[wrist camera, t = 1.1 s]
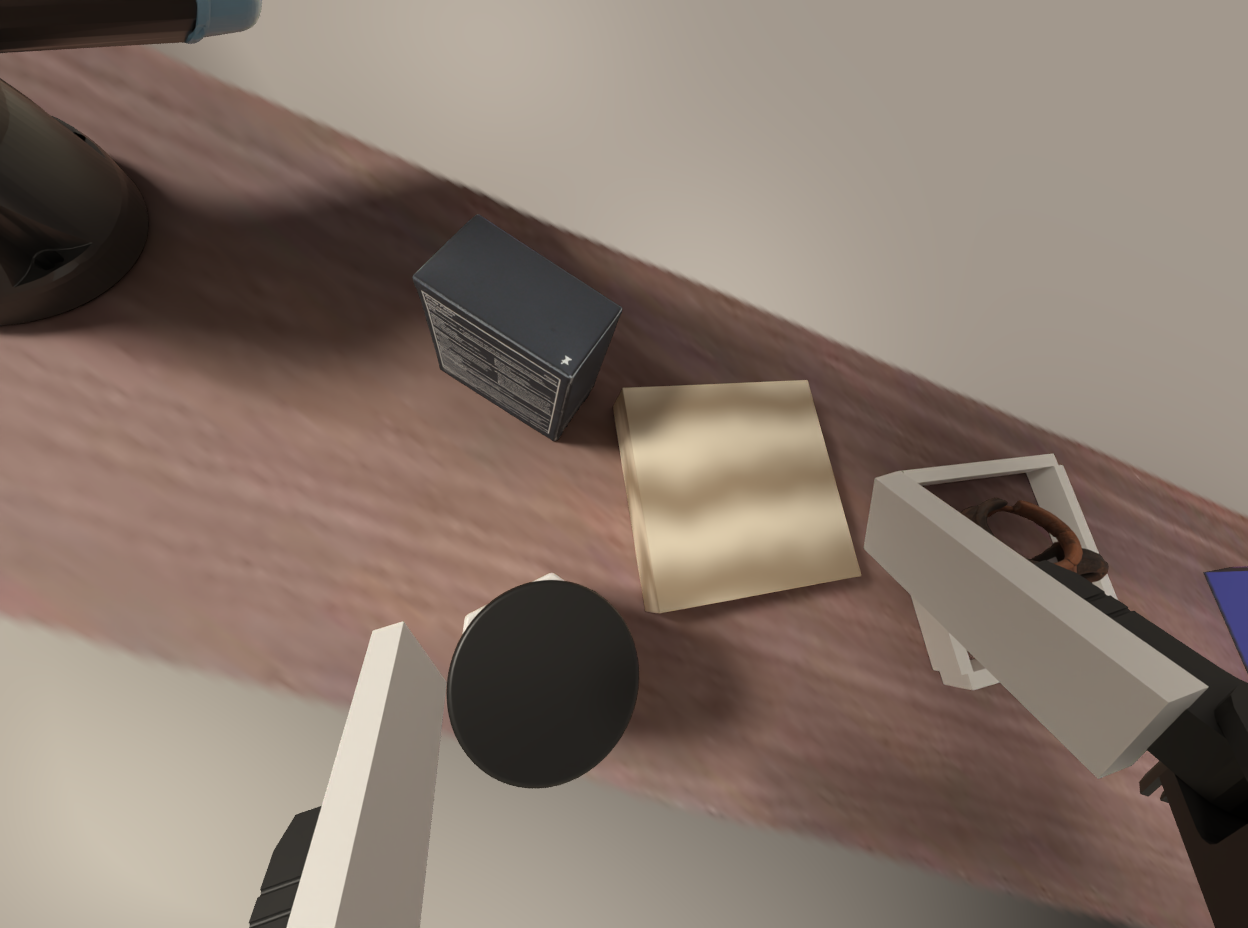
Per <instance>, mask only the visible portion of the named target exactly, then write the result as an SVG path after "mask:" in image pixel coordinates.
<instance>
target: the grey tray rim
mask: <svg viewBox="0 0 1248 928" xmlns="http://www.w3.org/2000/svg"><path fill="white" fill-rule="evenodd" d="M901 472H902V473H904V474H905V475H907V476H908V477H909V478H911V479H912V480H914V481H915V482H917V483H918V484H919V485H921V486H925V485H933V484H941V483H949V482H956V481H964V480H972V479H980V478H988V477H996V476H1004V475H1012V474H1020V473H1026V474H1027V477H1028V479H1029V482H1030V485H1031V487H1032V490H1033V492H1034V495H1035V497H1036V500H1037V503H1038V505H1039V507H1041V508H1043V509H1045V510H1047V511H1049V512H1051V513H1052V514H1054V515H1055V516H1057V517H1058V518H1059V519H1060V520H1062V521H1063V522H1064V523H1065V524H1066V525H1068V526H1069V527H1070V529H1071V530H1072V531H1073V532H1074V533H1075V534H1076V536H1077V538H1078V539H1079V541H1080V544H1081V547H1082V548H1085V549H1089V550H1091V551H1094V552H1096V553H1098V554H1099V552H1098V550H1097V547H1096V545H1095V543H1094V540H1093V538H1092V535H1091V533H1090V530H1089V528H1088V525H1087V523H1086V520H1085V518H1084V516H1083V513H1082V511H1081V508H1080V506H1079V503H1078V501H1077V498H1076V496H1075V493H1074V491H1073V489H1072V486H1071V484H1070V481H1069V479H1068V476H1067V474H1066V471H1065V469H1064V467H1063V465H1058V463H1057V461H1056V458H1055V456H1054V454H1045V455H1036V456H1027V457H1018V458H1009V459H1001V460H992V461H983V462H974V463H965V464H956V465H948V466H939V467H930V468H921V469H912V470H903V471H901ZM1049 534H1050V533H1049ZM1050 536H1051V539H1052V542H1053V543H1054V542H1058V540H1057V539H1056V537H1053V536H1052V535H1051V534H1050ZM1092 583H1093V584H1094V585H1096V586H1097V587H1099V588H1100V589H1102V590H1103V591H1105V594H1106V595H1108V596H1110V595H1111V596H1112V597H1114V598H1115V599H1117V596H1116V594H1115V592H1114V589H1113V587H1112V584H1111V582H1110V579H1109V577H1108V574H1106V575H1105V576H1104V577H1103V578H1102V579H1101V580H1099V581H1097V582H1092ZM911 598H912V602H913V605H914V608H915V612H916V615H917V618H918V622H919V625H920V628H921V632H922V635H923V638H924V642H925V645H926V648H927V652H928V655H929V658H930V662H931V665H932V668H933V670H935V671H940V674H941V678H942V681H943V684H944V685H949V686H954V687H959V688H964V689H969V690H976V689H980V688H983V687H986V686H990V685H993V684H997V683H1000V682H999V681H998V680H997V679H996V678H995V677H994V676H993V675H992V674H991V673H990V672H989V671H988V670H987V669H986V668H985V667H984V666H983V665H982V664H981V663H980V662H979V661H978V660H976V659H973V660H970V659H969V656H968V653H967V650H966V649H965V648H964V647H963V646H962V645H961V644H960V643H959V642H958V641H957V640H956V639H955V638H954V637H953V636H952V635H951V634H950V633H949V632H948V631H947V630H946V629H945V628H944V627H943V626H942V625H941V624H940V623H939V622H938V621H937V620H936V619H935V618H934V617H933V616H932V615H931V614H930V613H929V612H928V611H927V610H926V609H925V608H924V607H923V606H922V605H921V604H920V603H918V602H917V601H916V600H915V599H914V598H913V597H912V596H911ZM1117 600H1118V599H1117Z"/></svg>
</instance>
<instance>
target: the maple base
mask: <svg viewBox="0 0 1248 928" xmlns="http://www.w3.org/2000/svg"><path fill="white" fill-rule="evenodd" d="M613 412H614V418H615V424H616V431H617V437H618V443H619V450H620V456H621V462H622V469H623V475H624V481H625V487H626V494H627V500H628V506H629V513H630V519H631V525H632V532H633V538H634V544H635V550H636V557H637V563H638V569H639V576H640V582H641V588H642V595H643V601H644V607H645V612H653V613H664V612H670V611H675V610H681V609H686V608H691V607H697V606H702V605H707V604H713V603H718V602H724V601H729V600H734V599H740V598H745V597H750V596H756V595H761V594H767V593H772V592H777V591H783V590H788V589H793V588H799V587H804V586H810V585H815V584H820V583H826V582H831V581H836V580H842V579H847V578H853V577H858V576H861V572H860V568H859V565H858V561H857V558H856V554H855V550H854V547H853V543H852V539H851V536H850V532H849V529H848V525H847V521H846V518H845V514H844V511H843V507H842V503H841V500H840V496H839V492H838V489H837V485H836V482H835V478H834V474H833V471H832V467H831V464H830V460H829V456H828V453H827V449H826V445H825V442H824V438H823V435H822V431H821V427H820V424H819V420H818V417H817V413H816V409H815V406H814V402H813V399H812V395H811V391H810V388H809V384H808V380H797V381H773V382H750V383H727V384H703V385H680V386H656V387H633V388H622V390H621V392H620V394H619V396H618V398H617V399H616V401H615V403H614V405H613Z"/></svg>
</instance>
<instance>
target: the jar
mask: <svg viewBox="0 0 1248 928" xmlns="http://www.w3.org/2000/svg"><path fill="white" fill-rule="evenodd" d="M638 686H639V665H638V657H637V652H636V648H635V644H634V641H633V638H632V636H631V633H630V631H629V629H628V627H627V625H626V623H625V622H624V620H623V618H622V617H621V616H620V614H619V613H618V612H617V610H616V609H615V608H614V607H613V606H612V605H611V604H610V603H609V602H608V601H607V600H606V599H604V598H603V597H602V596H600V595H599V594H598V593H596V592H595V591H593V590H591V589H589V588H586V587H584V586H582V585H579V584H576V583H572V582H568V581H565V580H564V579H562V578H561V577H559V576H558V575H556V574H555V573H549V574H547V575H545V576H543V577H541V578H539V579H537V580H535V581H533V582H529V583H526V584H523V585H520V586H517V587H515V588H512V589H510V590H508V591H506V592H504V593H503V594H501V595H499V596H498V597H496V598H495V599H494V600H492V601H491V602H490V603H489V604H487V605H485V606H483V607H481V608H479V609H477V610H475V611H473V612H471V613H469V614H468V615H467V616H466V617H465V620H464V627H463V634H462V636H461V638H460V640H459V642H458V644H457V646H456V649H455V651H454V654H453V657H452V660H451V663H450V668H449V672H448V678H447V707H448V713H449V718H450V722H451V725H452V728H453V731H454V734H455V736H456V738H457V740H458V742H459V744H460V746H461V747H462V749H463V750H464V752H465V753H466V754H467V756H468V757H469V758H470V759H471V760H472V762H473V763H474V764H476V765H477V766H478V767H479V768H480V769H481V770H482V771H484V772H485V773H486V774H488V775H489V776H491V777H493V778H495V779H497V780H498V781H501V782H503V783H506V784H509V785H513V786H517V787H522V788H547V787H553V786H557V785H561V784H564V783H567V782H569V781H572V780H574V779H576V778H578V777H580V776H582V775H583V774H585V773H587V772H588V771H590V770H591V769H592V768H594V767H595V766H596V765H597V764H599V763H600V762H601V761H602V760H603V759H604V758H605V757H606V756H607V755H608V754H609V753H610V752H611V750H612V749H613V748H614V747H615V745H616V744H617V743H618V741H619V740H620V738H621V737H622V735H623V733H624V731H625V729H626V728H627V726H628V723H629V721H630V719H631V716H632V713H633V710H634V707H635V703H636V699H637V694H638Z"/></svg>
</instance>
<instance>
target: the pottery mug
mask: <svg viewBox="0 0 1248 928" xmlns="http://www.w3.org/2000/svg"><path fill="white" fill-rule="evenodd" d="M1007 504H1008V502H1007V501H1005V500H1002V499H1000V498H992V499H989V500H987V501H985V502H983V503H982V504H980V505H979V506H975V507H969V508H967V509H965V510H964V511H962V512H961V514H962V515H964V516H965V517H967V518H968V519H970V520H971V521H972V522H974V523H975V524H977V525H978V526H980V527H981V528H982V529H984V530H985V531H987V532H988V533H990V534H991V535H992V536H994V535H993V533H992V532H991V531H990V529H989V527H988V525H987V517H990V516H992V515H993V514H994V513H996V512H998V511H1006V512H1010V513H1014V514H1017V515H1020V516H1022V517H1025V518H1027V519H1029V520H1031V521H1033V522H1034V523H1036V524H1038V525H1039V526H1041V527H1042V528H1044V529H1045V530H1047V531H1048V532H1049V533H1050V534H1051V535H1052V536H1053V537H1056V539H1057V540H1058V542H1054V543H1053V544H1052V546H1051V547H1050V548H1048V549H1047V550H1045V551H1044V552H1043V553H1042V554H1040V555H1038V556H1036V557H1034V558H1032V559H1027V558H1025V557H1024V558H1025V559H1027V560H1028V561H1030V562H1031V563H1032V564H1035V563H1038V562H1041V561H1044V560H1047V561H1049V562H1051V563H1054V564H1056V565H1059V566H1061V567H1063V568H1066V569H1068V570H1071V571H1073V572H1075V573H1077V574H1079V575H1080V576H1082V577H1083V578H1085V579H1087V580H1088V581H1090V582H1091V583H1092V582H1097V581H1099V580H1101V579H1102V578H1103V577H1104V576H1105V575H1106V574H1107V573H1108V567H1109V566H1108V563H1107V562H1106V561H1104V559H1103V558H1102V556H1101V555H1100V554H1098V553H1096V552H1094V551H1091V550H1089V549H1085V548H1082V547H1081V544H1080V541H1079V539H1078V538H1077V536H1076V534H1075V533H1074V532H1073V531H1072V530H1071V529H1070V527H1069V526H1068V525H1066V524H1065V523H1064V522H1063V521H1062V520H1060V519H1059V518H1058V517H1057V516H1055V515H1054V514H1052V513H1051V512H1049V511H1047V510H1045V509H1043V508H1041V507H1039V506H1037V505H1035V504H1032V503H1029V502H1026V501H1021V500H1019V501H1018V502H1017V503H1016V504H1015V505H1014V506H1006V505H1007ZM994 537H995V536H994ZM995 538H996V537H995ZM1022 557H1023V556H1022Z"/></svg>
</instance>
